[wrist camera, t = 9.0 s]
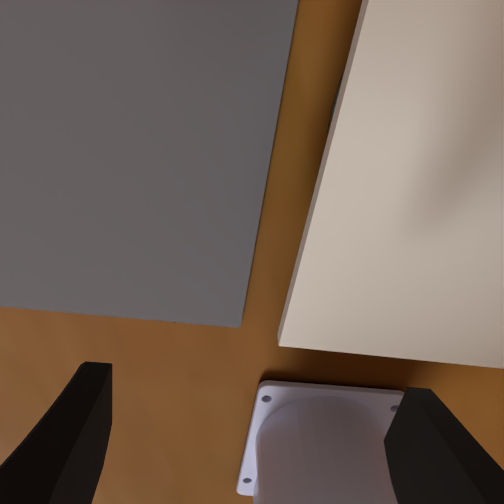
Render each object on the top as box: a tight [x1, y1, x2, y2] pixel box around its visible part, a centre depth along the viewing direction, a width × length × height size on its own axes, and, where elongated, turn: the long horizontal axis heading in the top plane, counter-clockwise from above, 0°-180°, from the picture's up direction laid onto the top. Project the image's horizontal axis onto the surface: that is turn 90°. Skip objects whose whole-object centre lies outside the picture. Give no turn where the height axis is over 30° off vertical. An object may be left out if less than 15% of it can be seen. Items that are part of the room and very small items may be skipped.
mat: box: [0, 0, 298, 328], centre depth 18 cm, size 17×17×1 cm
